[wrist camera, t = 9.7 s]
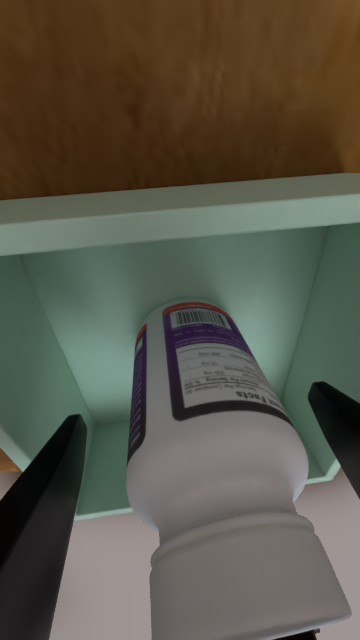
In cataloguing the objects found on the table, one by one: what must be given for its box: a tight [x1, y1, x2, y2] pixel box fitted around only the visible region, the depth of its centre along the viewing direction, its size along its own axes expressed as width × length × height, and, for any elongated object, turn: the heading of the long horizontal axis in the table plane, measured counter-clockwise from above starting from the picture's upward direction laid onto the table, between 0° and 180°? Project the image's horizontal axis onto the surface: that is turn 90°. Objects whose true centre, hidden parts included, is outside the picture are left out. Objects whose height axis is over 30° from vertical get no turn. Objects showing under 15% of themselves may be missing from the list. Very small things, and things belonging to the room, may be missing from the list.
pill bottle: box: [126, 298, 352, 640], centre depth 9 cm, size 5×5×10 cm
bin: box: [0, 173, 360, 521], centre depth 11 cm, size 14×14×6 cm
